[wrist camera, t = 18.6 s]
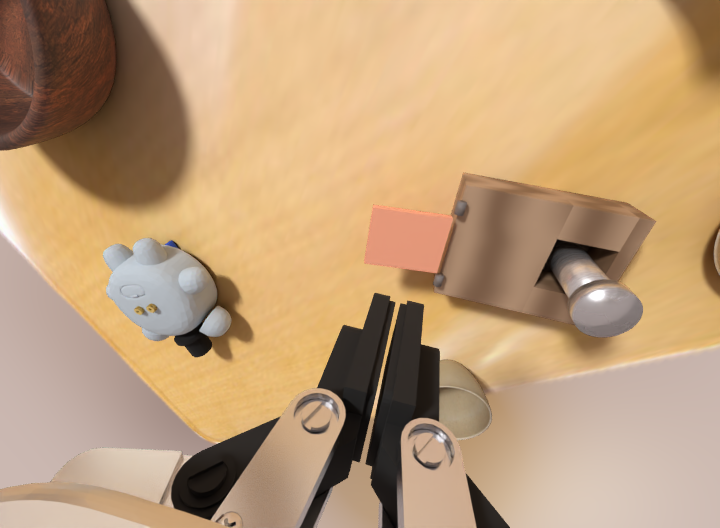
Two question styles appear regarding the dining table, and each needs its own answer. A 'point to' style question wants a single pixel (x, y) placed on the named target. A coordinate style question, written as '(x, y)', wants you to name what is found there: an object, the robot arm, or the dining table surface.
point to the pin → (593, 293)
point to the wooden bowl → (52, 67)
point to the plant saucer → (717, 252)
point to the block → (530, 243)
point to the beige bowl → (462, 401)
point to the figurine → (166, 294)
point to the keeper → (407, 238)
